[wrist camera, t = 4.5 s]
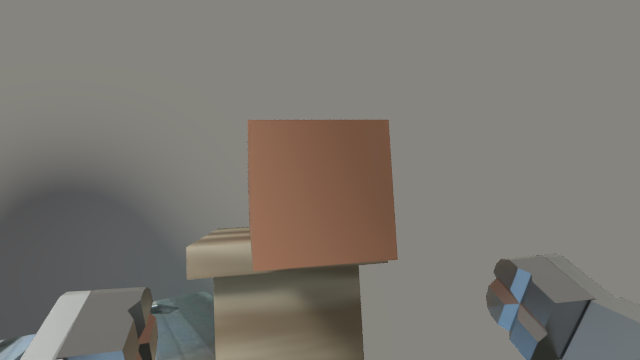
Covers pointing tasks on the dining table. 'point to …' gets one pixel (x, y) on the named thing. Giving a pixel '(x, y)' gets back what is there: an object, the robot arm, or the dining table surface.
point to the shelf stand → (278, 303)
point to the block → (320, 193)
